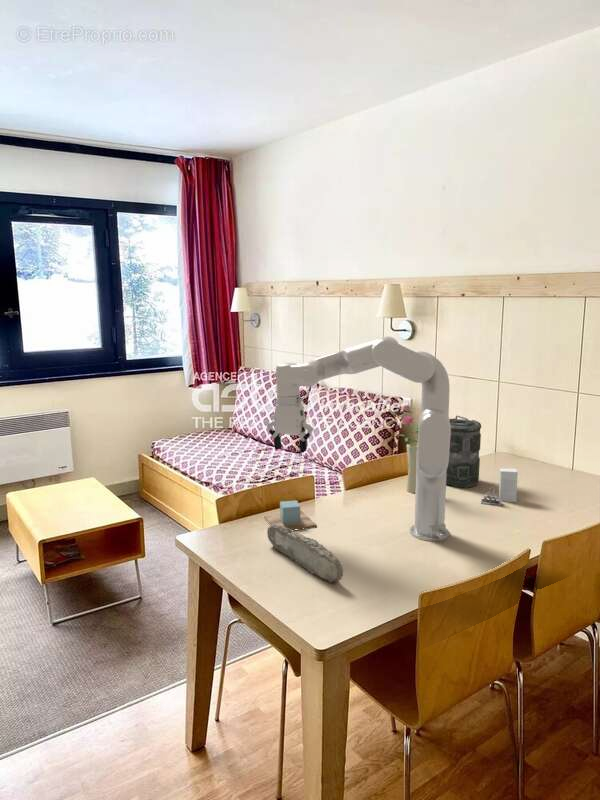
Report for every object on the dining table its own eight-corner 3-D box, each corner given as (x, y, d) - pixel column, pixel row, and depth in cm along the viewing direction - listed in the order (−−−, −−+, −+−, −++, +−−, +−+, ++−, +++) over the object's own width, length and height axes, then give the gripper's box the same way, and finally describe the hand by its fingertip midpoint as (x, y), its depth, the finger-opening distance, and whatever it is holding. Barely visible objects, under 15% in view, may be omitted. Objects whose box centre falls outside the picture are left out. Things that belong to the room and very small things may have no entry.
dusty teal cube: (297, 516, 204) (296, 500, 203) (300, 523, 198) (300, 506, 197) (280, 518, 203) (279, 501, 202) (283, 524, 197) (282, 507, 196)
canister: (431, 479, 247) (433, 415, 242) (461, 474, 253) (463, 411, 248) (456, 490, 233) (459, 422, 228) (486, 485, 239) (490, 418, 234)
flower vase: (407, 500, 223) (409, 410, 216) (385, 491, 233) (387, 405, 226) (429, 494, 229) (432, 407, 223) (407, 485, 239) (409, 402, 233)
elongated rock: (262, 549, 182) (261, 519, 180) (275, 544, 185) (275, 515, 183) (336, 593, 155) (336, 559, 153) (351, 587, 158) (351, 553, 156)
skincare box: (514, 498, 223) (516, 468, 221) (516, 502, 219) (518, 472, 217) (498, 497, 225) (499, 467, 223) (499, 501, 221) (501, 471, 218)
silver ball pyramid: (508, 501, 222) (510, 482, 220) (505, 508, 214) (506, 489, 213) (484, 497, 226) (485, 478, 224) (480, 504, 218) (481, 485, 217)
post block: (316, 528, 197) (316, 512, 196) (277, 535, 192) (277, 518, 191) (301, 514, 210) (300, 498, 209) (264, 520, 204) (263, 504, 203)
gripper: (317, 399, 192) (318, 450, 195) (271, 397, 200) (274, 445, 203) (306, 403, 185) (308, 455, 188) (260, 401, 193) (262, 450, 196)
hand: (290, 450), depth 196 cm, fingers open, 9 cm apart
